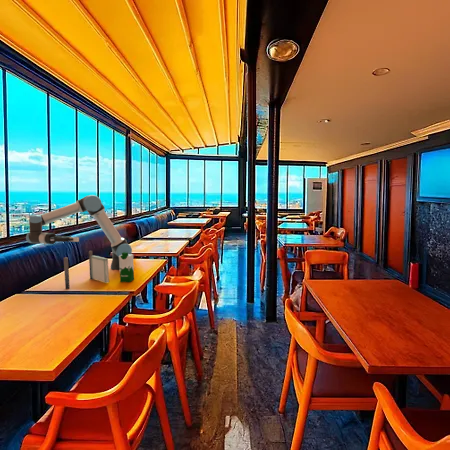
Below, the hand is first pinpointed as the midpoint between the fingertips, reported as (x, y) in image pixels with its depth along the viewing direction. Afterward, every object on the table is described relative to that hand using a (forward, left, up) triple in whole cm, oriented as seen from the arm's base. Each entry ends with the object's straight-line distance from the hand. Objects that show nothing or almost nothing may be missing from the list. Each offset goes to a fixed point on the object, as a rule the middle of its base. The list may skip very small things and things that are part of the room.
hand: (78, 239), depth 225 cm
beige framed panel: (-11, +6, -29) cm, 31 cm away
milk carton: (-24, +19, -30) cm, 43 cm away
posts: (+1, +1, -30) cm, 30 cm away
